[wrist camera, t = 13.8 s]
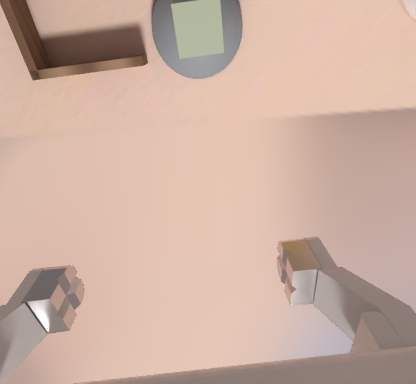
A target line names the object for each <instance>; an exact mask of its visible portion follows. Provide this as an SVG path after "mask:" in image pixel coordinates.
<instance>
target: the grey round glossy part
mask: <svg viewBox="0 0 416 384" xmlns="http://www.w3.org/2000/svg"><path fill="white" fill-rule="evenodd" d="M189 1H196V0H157V1H156V4H155V7H154V10H153V15H152V33H153V38H154V42H155V45H156V48H157V50H158V52H159V54H160V56H161V57H162V59H163V60H164V61H165V63H166V64H167V65H168V66H169V67H170V68H171V69H173V70H174V71H175V72H177V73H179V74H181V75H183V76H185V77H189V78H195V79H201V78H207V77H211V76H213V75H215V74H217V73H219V72H221V71H222V70H223V69H224V68H226V67H227V66H228V65H229V63H230V62H231V61H232V59H233V58H234V56H235V55H236V52H237V50H238V48H239V45H240V41H241V37H242V16H241V12H240V8H239V5H238V2H237V0H220V3H221V16H222V29H223V43H224V53H219V54H212V55H204V56H197V57H189V58H182V59H179V53H178V46H177V40H176V33H175V27H174V20H173V14H172V7H171V4H175V3H182V2H189Z"/></svg>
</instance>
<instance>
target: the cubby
mask: <svg viewBox="0 0 416 384" xmlns="http://www.w3.org/2000/svg"><path fill="white" fill-rule="evenodd" d="M0 4H1V6H2V9H3V11H4V13H5V16H6V18H7V20H8V23H9V25H10V28H11V30H12V32H13V35H14V37H15V39H16V42H17V44H18V46H19V49H20V51H21V53H22V56H23V58H24V60H25V63H26V65H27V68H28V70H29V72H30V75H31V77H32V79H33V80H39V79H46V78H54V77H61V76H69V75H76V74H84V73H91V72H99V71H106V70H114V69H121V68H129V67H136V66H143V65H145V64H147V63H148V62H147V57H146V55H138V56H131V57H124V58H116V59H109V60H101V61H94V62H86V63H79V64H72V65H64V66H57V67H51V66H50V64H49V61H48V58H47V56H46V53H45V51H44V48H43V45H42V43H41V40H40V38H39V35H38V32H37V30H36V27H35V25H34V22H33V19H32V17H31V14H30V11H29V9H28V6H27V4H26V1H25V0H0Z"/></svg>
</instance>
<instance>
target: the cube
mask: <svg viewBox="0 0 416 384" xmlns="http://www.w3.org/2000/svg"><path fill="white" fill-rule="evenodd" d="M171 7H172V14H173V20H174V27H175V33H176V40H177V46H178V53H179V59H182V58H189V57H197V56H204V55H212V54H219V53H224V43H223V29H222V16H221V3H220V0H196V1H189V2H182V3H175V4H171Z"/></svg>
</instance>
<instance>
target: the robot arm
mask: <svg viewBox="0 0 416 384" xmlns="http://www.w3.org/2000/svg"><path fill="white" fill-rule="evenodd" d="M402 1H403V4H404V6H405V8H406V10H407V12H408V13H409V14H410V16H411V17H412V18H413V19H415V20H416V0H402ZM278 252H279V254H280V255H279V256H278V257H277V266H278V272H279V276H280V279H281V282H283V283H284V284H285V293H286V296H287V298H288V301H289V304H290V306H294V305H306V304H313V305H314V306H315V307H316V308H317V309H318V310H319V311H320V312H321V313H322V314H324V315H325V316H326V317H327V318H328V319H329V320H330V321H331V322H332V323H334V324H335V325H336V326H337V327H338V328H339V329H340V330H341V331H343V332H344V333H345V334H346V335H347V336H348V337H349V338H350V339H351V340H352V341H353V344H352V348H351V351H350V353H346V354H337V355H328V356H320V357H310V358H301V359H292V360H282V361H274V362H264V363H256V364H247V365H238V366H228V367H219V368H211V369H201V370H193V371H183V372H174V373H165V374H156V375H147V376H138V377H129V378H120V379H112V380H103V381H93V382H85V383H75V384H416V313H415V312H414V311H413V309H412V308H411V307H410V306H408V305H407V304H405V303H403V302H402V301H400V300H398V299H396V298H395V297H393V296H391V295H390V294H388V293H386V292H384V291H383V290H381V289H379V288H377V287H376V286H374V285H372V284H370V283H369V282H367V281H365V280H364V279H362V278H360V277H358V276H357V275H355V274H353V273H352V272H350V271H348V270H346V269H345V268H343V267H337V266H336V264H335V262H334V261H333V259H332V257H331V256H330V254H329V253H328V251H327V250H326V248H325V246H324V245H323V243H322V242H321V240H320V239H319V238H318V237H311V238H304V239H296V240H288V241H280V242H278ZM76 274H77V271H76V269H75V267H74V266H59V267H48V268H40V269H33V270H31V271H29V273H28V274H27V276H26V277H25V279H24V280H23V281H22V283H21V284H20V286H19V287H18V289H17V290H16V291H15V293H14V294H13V296H12V297H11V299H10V300H9V302H8V303H7V304H6V305H2V306H0V384H2V383H3V382H4V381H5V380H6V379H7V378H8V377H9V375H10V374H11V373H12V372H13V371H14V370H15V369H16V368H17V367H18V366H19V365H20V363H22V362H23V360H24V359H25V358H26V357H27V356H28V355H29V354H30V353H31V352H32V351H33V350H34V349H35V348H36V346H38V344H39V343H40V342H41V341H42V340H43V339H44V338H45V337H46V336H47V334H49V333H56V332H62V331H69V330H70V329H71V326H72V324H73V322H74V319H75V317H76V312H75V309H76V308H77V307H78V306H79V305H80V304H81V302H82V300H83V296H84V285H83V283H82V281H81V279H79V278H77V277H76Z"/></svg>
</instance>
